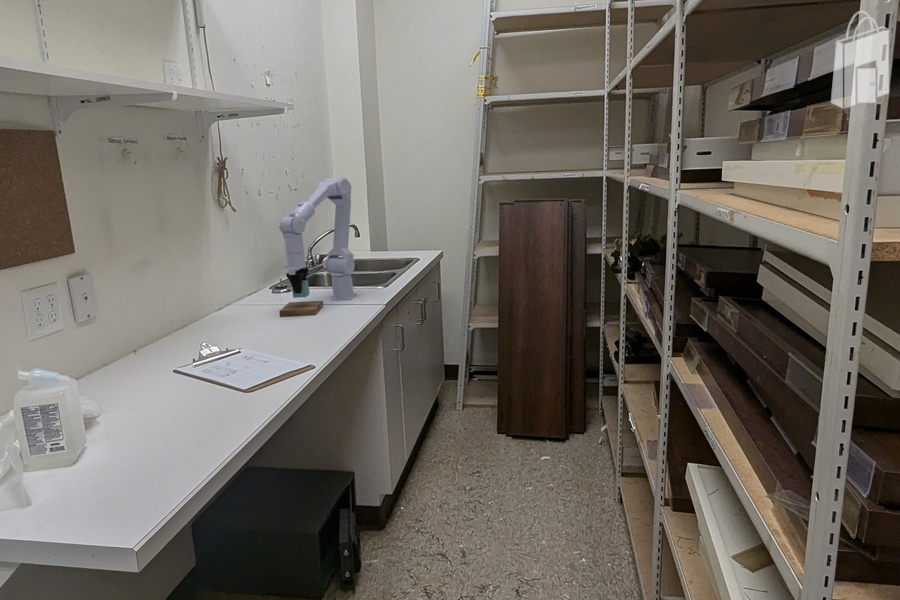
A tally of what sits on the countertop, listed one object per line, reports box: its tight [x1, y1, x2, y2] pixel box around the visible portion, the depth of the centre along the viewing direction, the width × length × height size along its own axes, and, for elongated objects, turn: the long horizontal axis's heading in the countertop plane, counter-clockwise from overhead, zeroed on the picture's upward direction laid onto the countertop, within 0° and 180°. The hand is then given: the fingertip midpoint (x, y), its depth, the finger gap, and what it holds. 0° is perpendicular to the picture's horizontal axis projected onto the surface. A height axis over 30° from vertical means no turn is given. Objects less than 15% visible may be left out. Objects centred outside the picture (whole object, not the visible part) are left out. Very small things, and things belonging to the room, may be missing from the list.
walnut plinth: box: [278, 300, 324, 318], centre depth 198 cm, size 12×12×2 cm
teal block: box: [291, 279, 310, 299], centre depth 196 cm, size 4×4×5 cm
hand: (299, 291), depth 196 cm, fingers closed on teal block, 4 cm apart
